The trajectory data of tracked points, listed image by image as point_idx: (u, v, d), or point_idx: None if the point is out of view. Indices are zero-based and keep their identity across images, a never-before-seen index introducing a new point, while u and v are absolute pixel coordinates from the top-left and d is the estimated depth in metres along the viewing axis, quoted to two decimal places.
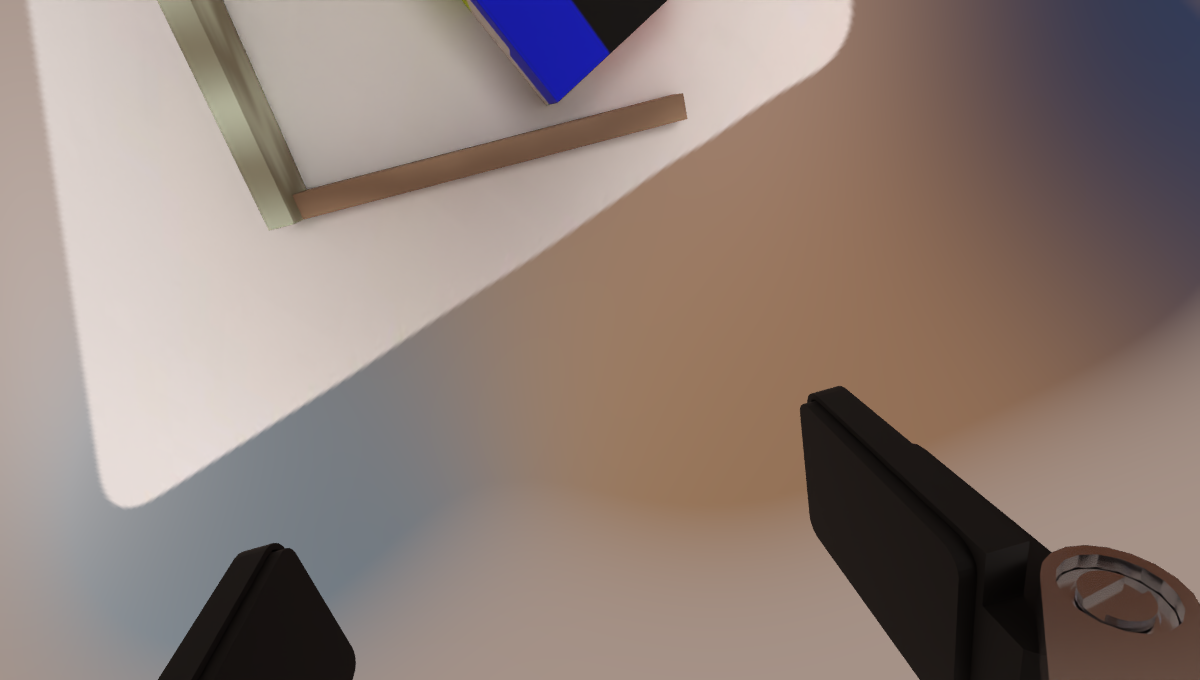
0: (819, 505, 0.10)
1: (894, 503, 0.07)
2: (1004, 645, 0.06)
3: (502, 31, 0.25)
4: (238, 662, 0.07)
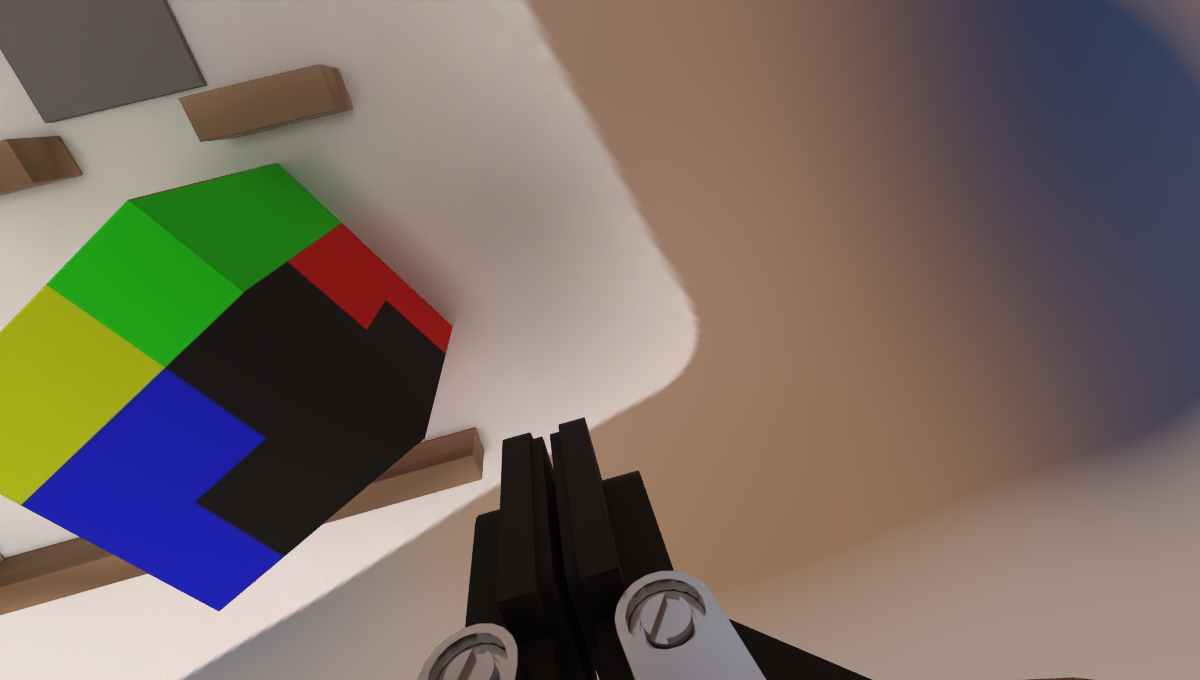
0: None
1: (562, 530, 0.08)
2: None
3: (113, 553, 0.18)
4: (550, 512, 0.09)
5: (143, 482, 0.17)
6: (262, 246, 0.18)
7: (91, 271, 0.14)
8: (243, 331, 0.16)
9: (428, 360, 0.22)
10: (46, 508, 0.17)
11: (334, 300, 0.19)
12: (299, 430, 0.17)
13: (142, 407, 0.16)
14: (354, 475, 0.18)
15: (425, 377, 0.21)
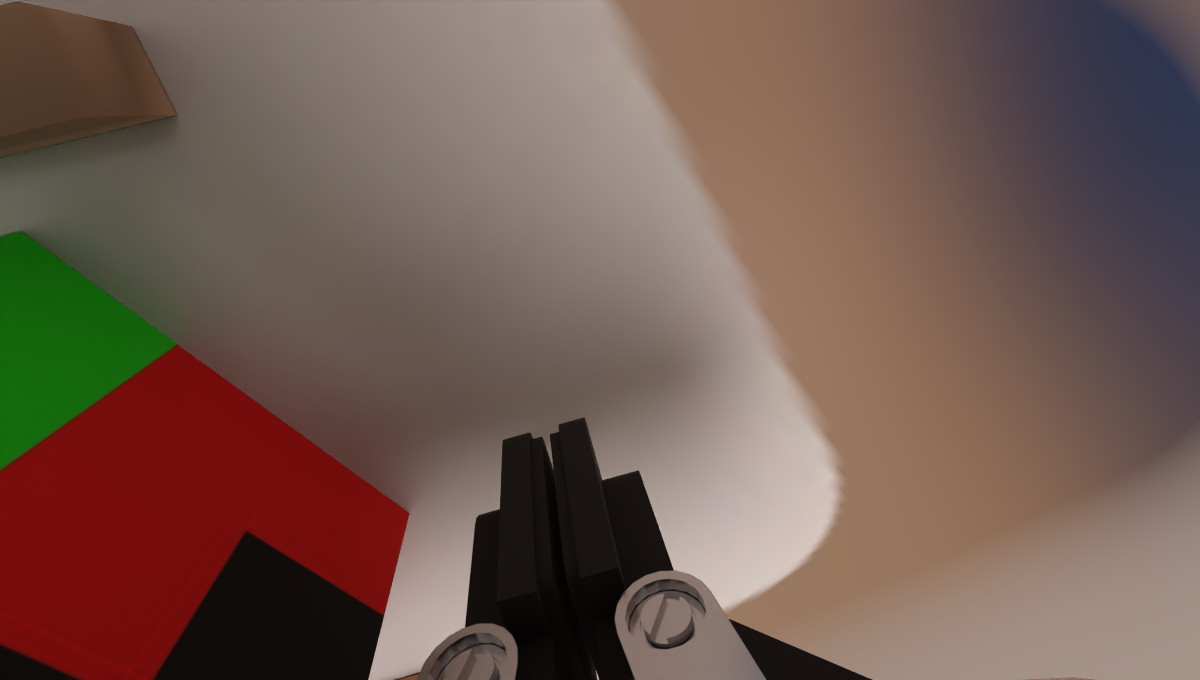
0: None
1: (561, 530, 0.08)
2: None
3: None
4: (550, 512, 0.09)
5: None
6: None
7: None
8: None
9: None
10: None
11: (29, 649, 0.07)
12: None
13: None
14: None
15: None
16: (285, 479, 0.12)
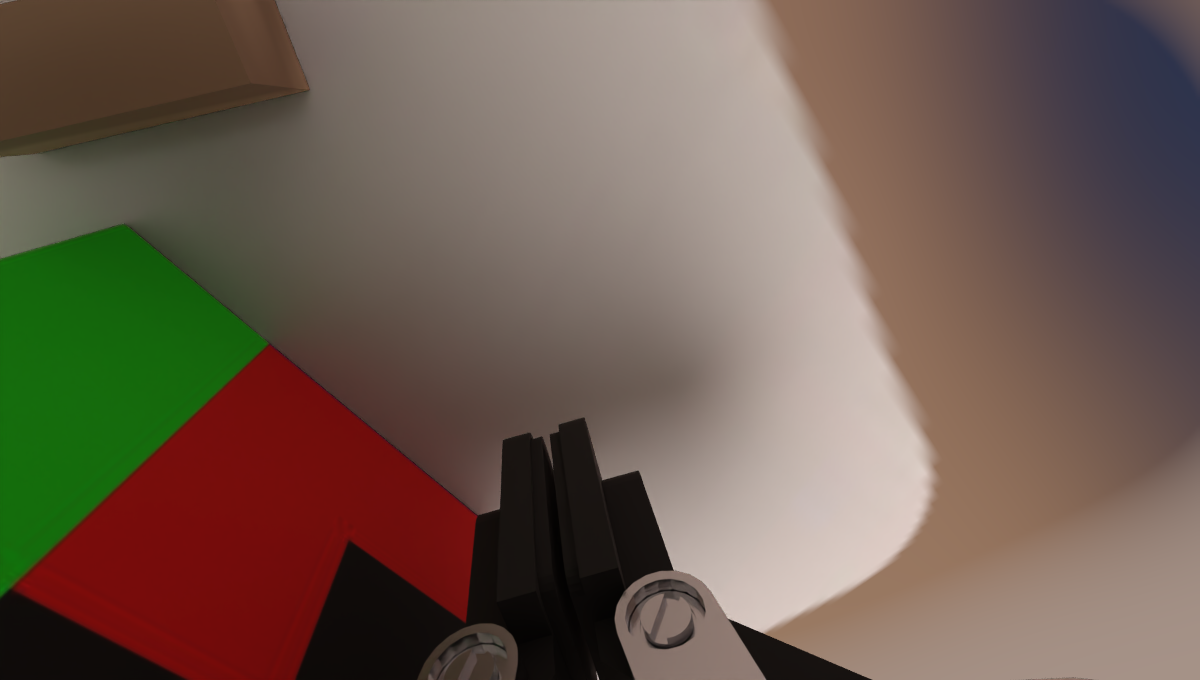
0: None
1: (561, 530, 0.08)
2: None
3: None
4: (550, 511, 0.09)
5: None
6: None
7: None
8: None
9: None
10: None
11: (176, 664, 0.07)
12: None
13: None
14: None
15: None
16: (375, 486, 0.12)
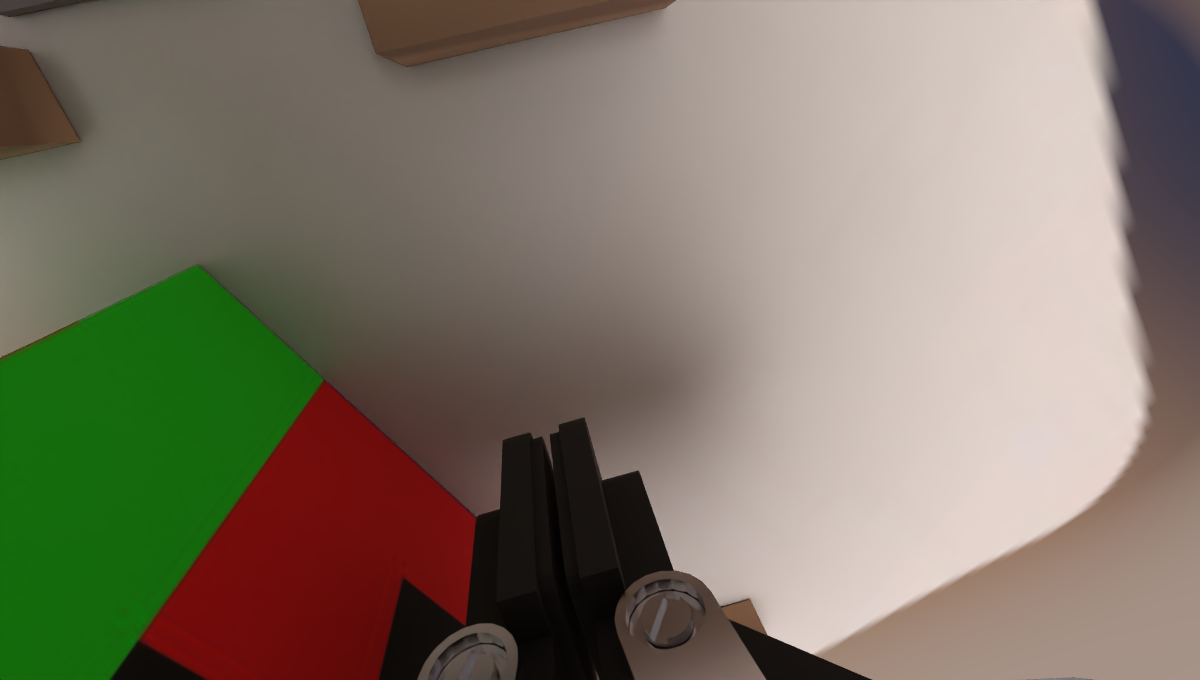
0: None
1: (561, 530, 0.08)
2: None
3: None
4: (550, 512, 0.09)
5: None
6: (48, 630, 0.06)
7: None
8: None
9: None
10: None
11: None
12: None
13: None
14: None
15: None
16: (421, 521, 0.12)
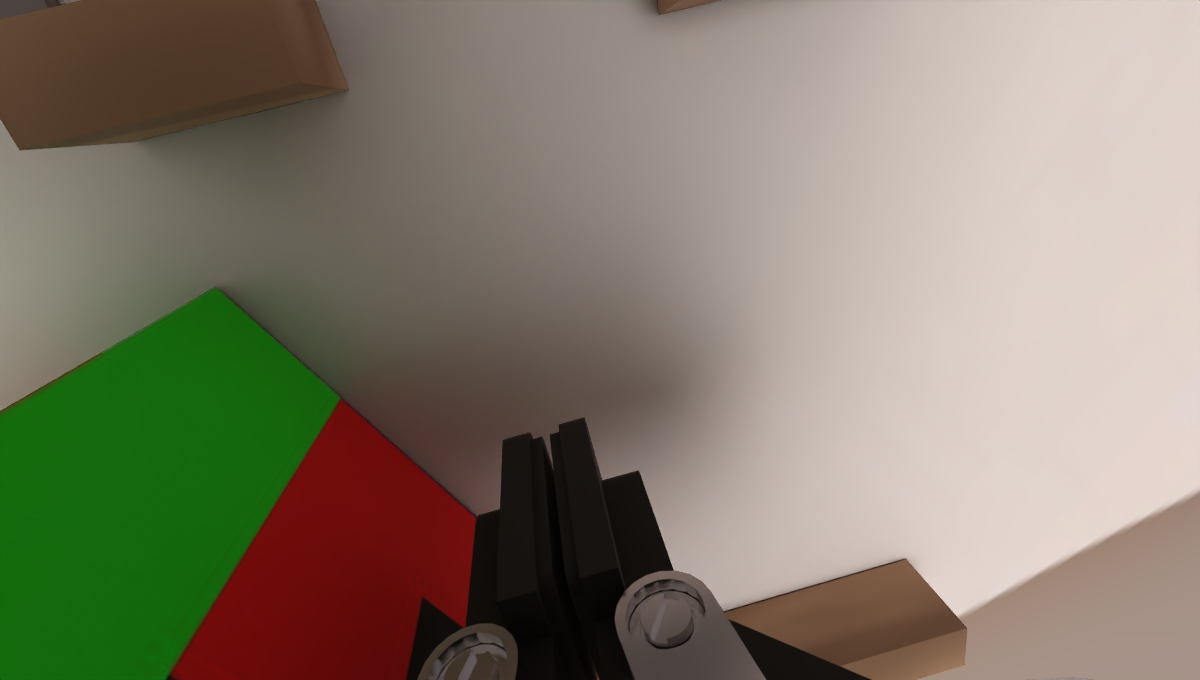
0: None
1: (561, 530, 0.08)
2: None
3: None
4: (550, 512, 0.09)
5: None
6: (82, 669, 0.06)
7: None
8: None
9: None
10: None
11: None
12: None
13: None
14: None
15: None
16: (439, 538, 0.12)
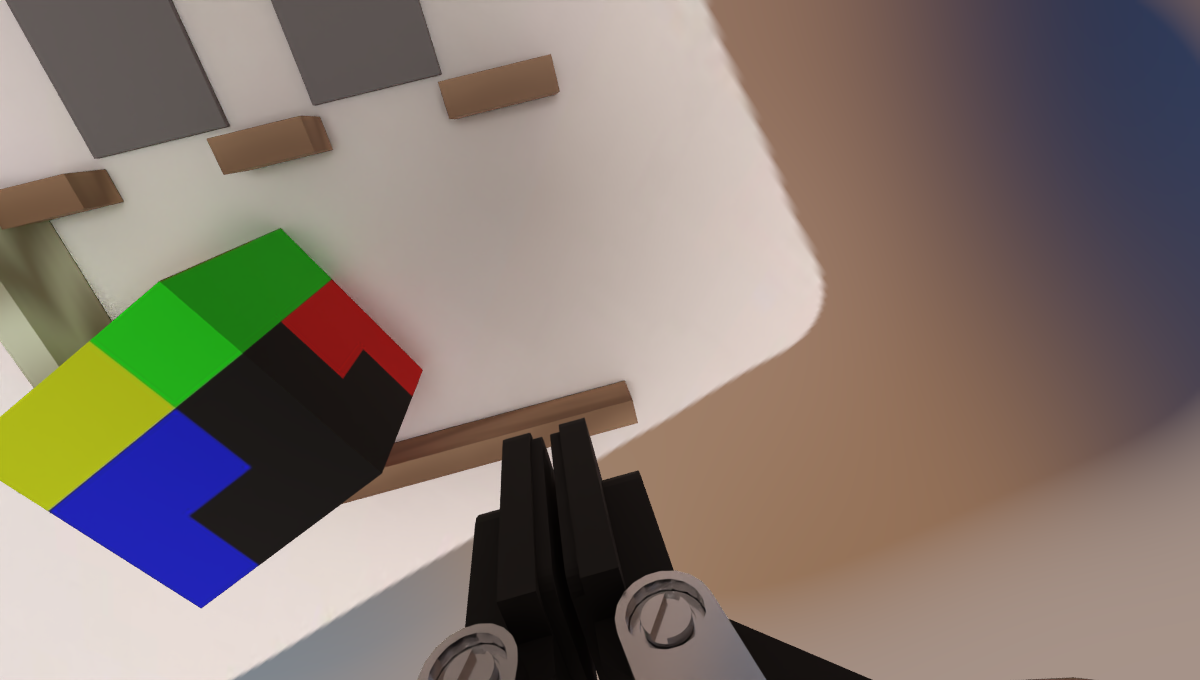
0: None
1: (561, 530, 0.08)
2: None
3: (118, 555, 0.22)
4: (550, 512, 0.09)
5: (149, 497, 0.21)
6: (261, 309, 0.22)
7: (125, 332, 0.19)
8: (240, 383, 0.20)
9: (395, 403, 0.26)
10: (68, 514, 0.21)
11: (317, 353, 0.23)
12: (280, 462, 0.21)
13: (154, 438, 0.20)
14: (321, 500, 0.22)
15: (390, 419, 0.25)
16: (373, 338, 0.28)
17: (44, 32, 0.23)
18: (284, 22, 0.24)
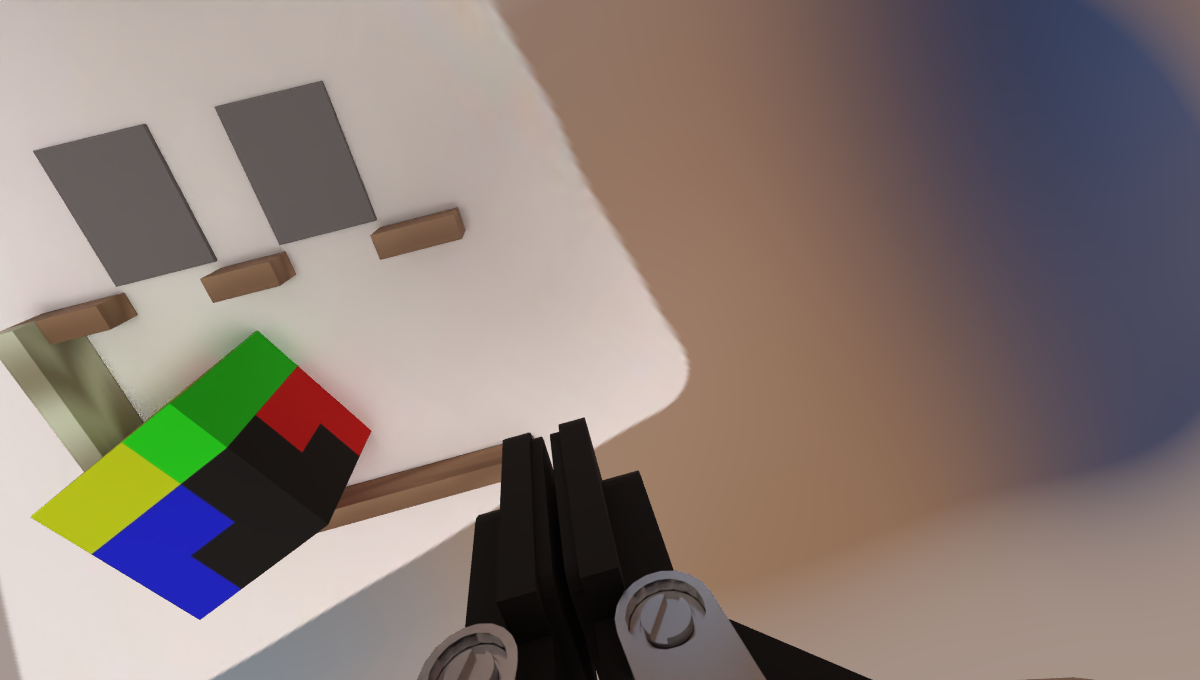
0: None
1: (561, 530, 0.08)
2: None
3: (140, 583, 0.30)
4: (550, 512, 0.09)
5: (162, 543, 0.30)
6: (241, 408, 0.31)
7: (146, 436, 0.27)
8: (225, 466, 0.28)
9: (344, 465, 0.35)
10: (105, 556, 0.29)
11: (282, 435, 0.32)
12: (254, 518, 0.30)
13: (166, 504, 0.29)
14: (285, 543, 0.31)
15: (338, 479, 0.34)
16: (330, 411, 0.37)
17: (80, 202, 0.31)
18: (257, 189, 0.33)
